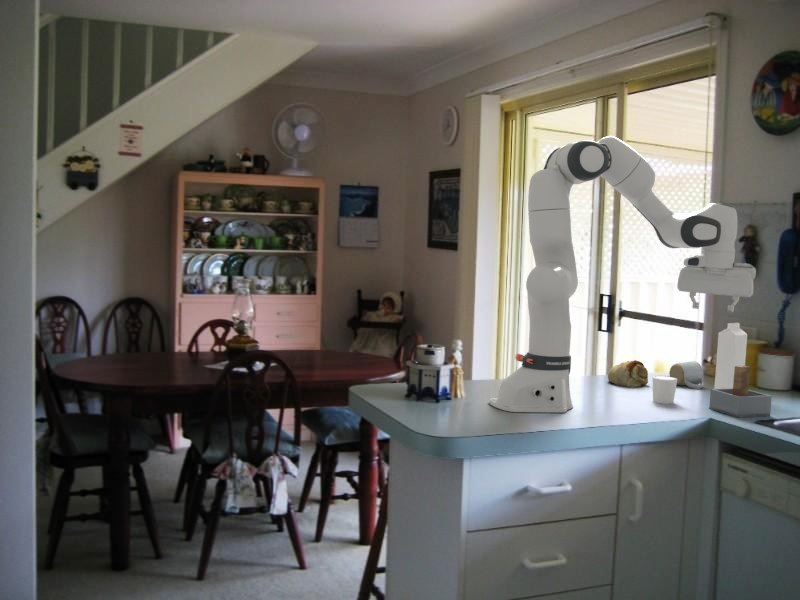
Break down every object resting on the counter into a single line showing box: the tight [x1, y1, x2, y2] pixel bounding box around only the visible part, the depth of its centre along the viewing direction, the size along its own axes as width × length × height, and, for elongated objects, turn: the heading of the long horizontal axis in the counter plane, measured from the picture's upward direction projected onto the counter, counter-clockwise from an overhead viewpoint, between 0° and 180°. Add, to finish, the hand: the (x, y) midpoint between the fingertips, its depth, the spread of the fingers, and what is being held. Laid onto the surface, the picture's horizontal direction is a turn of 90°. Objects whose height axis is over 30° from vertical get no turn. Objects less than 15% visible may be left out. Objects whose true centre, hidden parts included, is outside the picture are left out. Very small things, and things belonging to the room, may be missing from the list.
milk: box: [713, 322, 748, 389], centre depth 258 cm, size 6×6×22 cm
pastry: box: [607, 360, 649, 389], centre depth 272 cm, size 14×12×8 cm
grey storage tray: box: [708, 388, 773, 418], centre depth 233 cm, size 11×11×6 cm
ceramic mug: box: [669, 360, 704, 390], centre depth 272 cm, size 11×8×8 cm
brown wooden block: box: [733, 365, 751, 396], centre depth 233 cm, size 4×2×12 cm, turn 111°
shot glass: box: [651, 375, 677, 405], centre depth 244 cm, size 7×7×7 cm
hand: (712, 310), depth 241 cm, fingers open, 8 cm apart
